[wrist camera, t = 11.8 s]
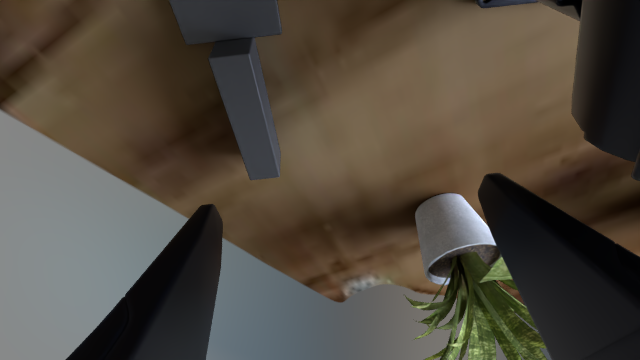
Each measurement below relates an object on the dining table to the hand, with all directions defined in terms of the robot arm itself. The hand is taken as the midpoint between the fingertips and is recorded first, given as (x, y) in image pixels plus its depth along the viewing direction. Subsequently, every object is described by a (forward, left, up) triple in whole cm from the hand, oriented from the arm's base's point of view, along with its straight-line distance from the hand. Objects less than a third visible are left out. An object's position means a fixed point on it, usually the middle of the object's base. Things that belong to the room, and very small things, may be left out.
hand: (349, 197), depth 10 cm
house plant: (-10, +16, -12) cm, 22 cm away
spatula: (+5, 0, -12) cm, 13 cm away
